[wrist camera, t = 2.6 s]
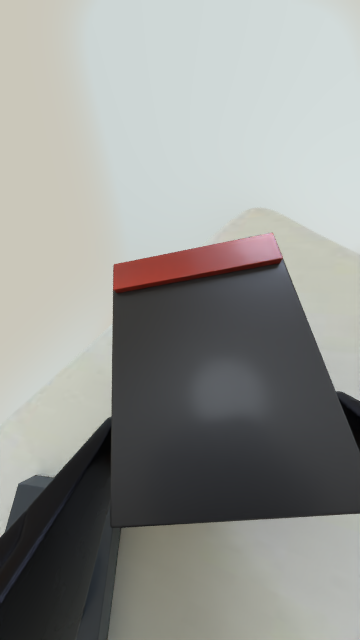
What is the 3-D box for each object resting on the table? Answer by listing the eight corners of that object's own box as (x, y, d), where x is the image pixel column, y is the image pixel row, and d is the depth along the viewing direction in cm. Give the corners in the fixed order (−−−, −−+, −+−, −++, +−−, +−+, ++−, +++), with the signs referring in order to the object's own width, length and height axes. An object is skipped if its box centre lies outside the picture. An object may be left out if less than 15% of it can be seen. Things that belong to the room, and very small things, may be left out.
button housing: (100, 696, 12) (61, 808, 9) (-12, 657, 14) (-82, 742, 10) (125, 488, 16) (104, 514, 13) (35, 474, 17) (-5, 495, 14)
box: (250, 417, 15) (399, 523, 3) (182, 425, 15) (102, 539, 4) (231, 333, 17) (276, 225, 6) (173, 342, 18) (109, 260, 6)
